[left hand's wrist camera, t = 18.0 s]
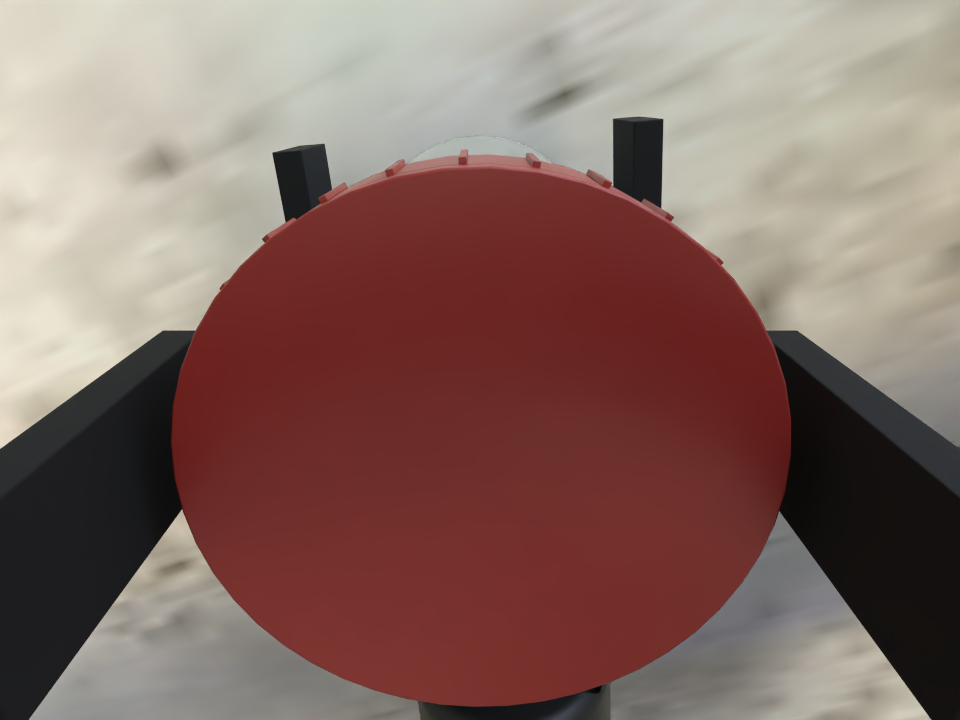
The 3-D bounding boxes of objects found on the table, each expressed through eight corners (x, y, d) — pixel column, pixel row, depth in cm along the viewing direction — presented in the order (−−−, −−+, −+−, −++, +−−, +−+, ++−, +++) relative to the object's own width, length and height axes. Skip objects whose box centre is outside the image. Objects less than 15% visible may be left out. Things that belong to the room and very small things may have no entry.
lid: (110, 277, 11) (32, 315, 9) (668, 49, 10) (715, 37, 8) (354, 675, 14) (335, 763, 12) (792, 546, 13) (846, 623, 11)
